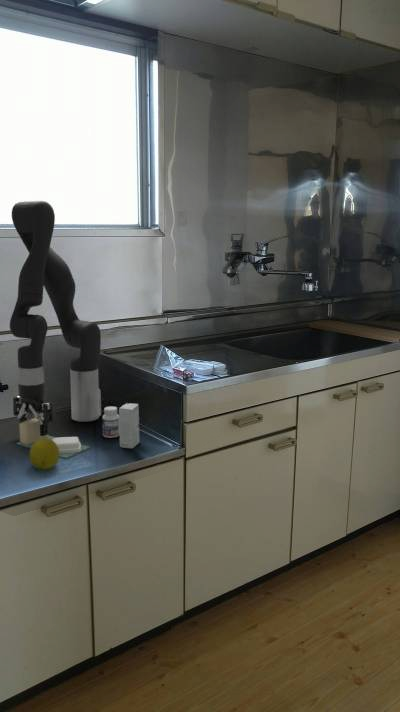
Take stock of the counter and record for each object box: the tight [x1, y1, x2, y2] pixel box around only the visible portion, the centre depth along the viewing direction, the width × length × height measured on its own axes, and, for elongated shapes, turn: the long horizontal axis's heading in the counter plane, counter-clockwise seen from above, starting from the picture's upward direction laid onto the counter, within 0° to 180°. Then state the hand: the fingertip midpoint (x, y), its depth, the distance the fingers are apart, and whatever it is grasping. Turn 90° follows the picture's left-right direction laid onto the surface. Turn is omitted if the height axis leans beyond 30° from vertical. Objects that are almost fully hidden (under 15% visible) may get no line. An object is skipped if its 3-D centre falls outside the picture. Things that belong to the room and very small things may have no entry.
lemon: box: [29, 438, 60, 471], centre depth 161 cm, size 11×8×8 cm
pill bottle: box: [101, 406, 120, 439], centre depth 186 cm, size 5×5×9 cm
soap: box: [52, 436, 82, 454], centre depth 174 cm, size 9×7×3 cm
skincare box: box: [118, 402, 140, 449], centre depth 178 cm, size 6×4×12 cm
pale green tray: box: [16, 417, 91, 460], centre depth 176 cm, size 10×20×6 cm, turn 58°
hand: (33, 432), depth 181 cm, fingers open, 8 cm apart
